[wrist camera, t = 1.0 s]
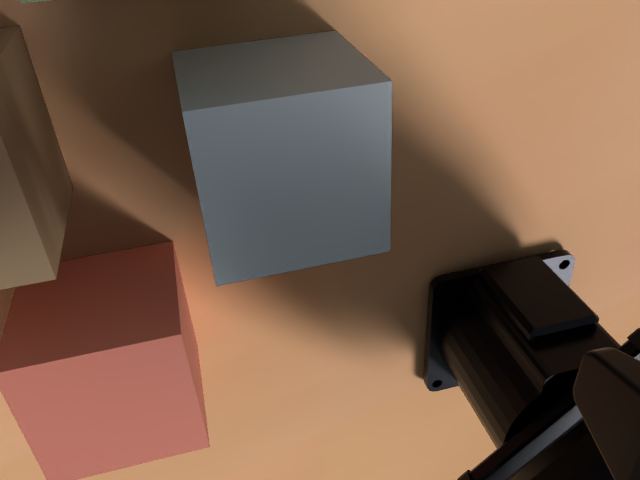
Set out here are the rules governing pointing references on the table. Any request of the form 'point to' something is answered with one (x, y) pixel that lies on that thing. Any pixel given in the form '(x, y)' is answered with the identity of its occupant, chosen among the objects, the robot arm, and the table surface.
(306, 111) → the slate cube
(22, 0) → the olive cube
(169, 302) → the red cube
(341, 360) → the table surface
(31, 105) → the walnut cube
